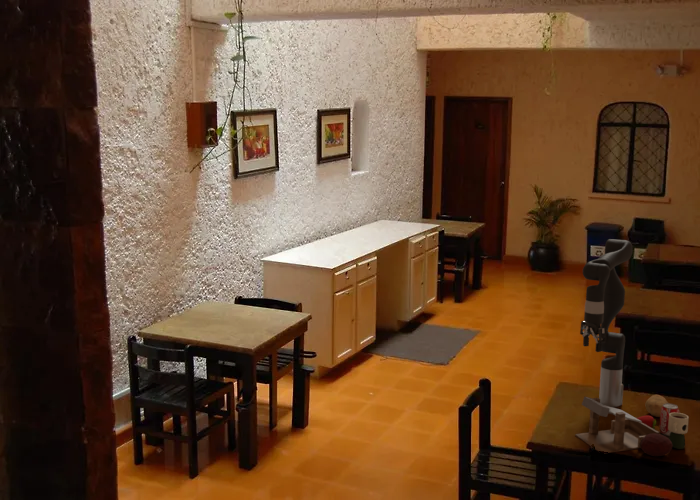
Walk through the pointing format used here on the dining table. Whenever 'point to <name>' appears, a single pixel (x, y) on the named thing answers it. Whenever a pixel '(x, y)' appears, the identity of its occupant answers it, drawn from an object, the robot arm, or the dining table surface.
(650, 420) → the strawberry
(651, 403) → the potato
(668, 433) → the soda can
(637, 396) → the dining table surface
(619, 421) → the stand
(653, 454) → the potato
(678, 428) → the character mug
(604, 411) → the trapdoor
